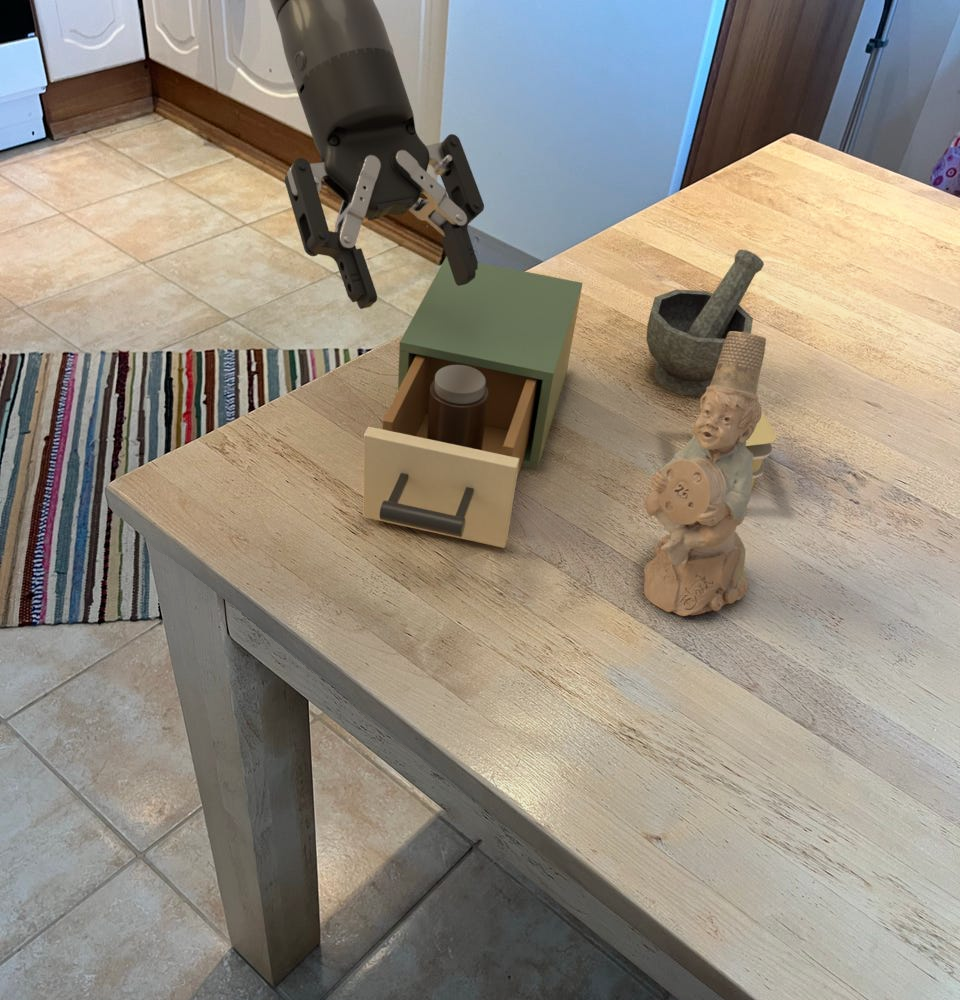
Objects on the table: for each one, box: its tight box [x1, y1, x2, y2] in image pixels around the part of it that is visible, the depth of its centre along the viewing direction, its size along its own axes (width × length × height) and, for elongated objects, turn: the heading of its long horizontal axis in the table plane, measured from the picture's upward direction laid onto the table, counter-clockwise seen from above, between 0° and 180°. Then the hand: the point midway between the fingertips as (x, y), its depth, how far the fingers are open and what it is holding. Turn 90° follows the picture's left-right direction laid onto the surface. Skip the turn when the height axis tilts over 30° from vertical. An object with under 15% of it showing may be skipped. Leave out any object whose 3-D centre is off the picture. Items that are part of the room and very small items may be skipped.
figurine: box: [643, 331, 767, 617], centre depth 69 cm, size 9×8×20 cm
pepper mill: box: [427, 365, 488, 450], centre depth 76 cm, size 4×4×9 cm
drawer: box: [362, 354, 540, 549], centre depth 77 cm, size 19×11×8 cm, turn 167°
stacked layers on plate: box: [746, 409, 777, 490], centre depth 84 cm, size 10×9×6 cm
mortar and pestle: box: [645, 249, 765, 397], centre depth 92 cm, size 11×9×12 cm
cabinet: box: [397, 255, 583, 470], centre depth 86 cm, size 16×13×10 cm
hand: (418, 293), depth 73 cm, fingers open, 8 cm apart
